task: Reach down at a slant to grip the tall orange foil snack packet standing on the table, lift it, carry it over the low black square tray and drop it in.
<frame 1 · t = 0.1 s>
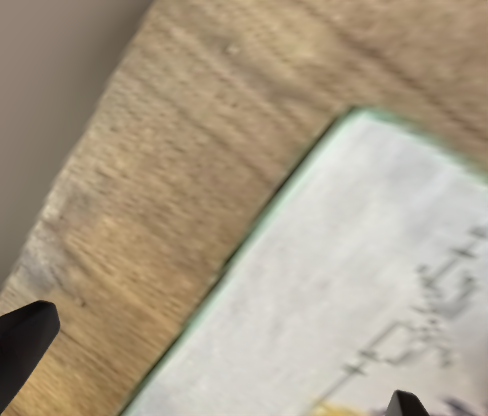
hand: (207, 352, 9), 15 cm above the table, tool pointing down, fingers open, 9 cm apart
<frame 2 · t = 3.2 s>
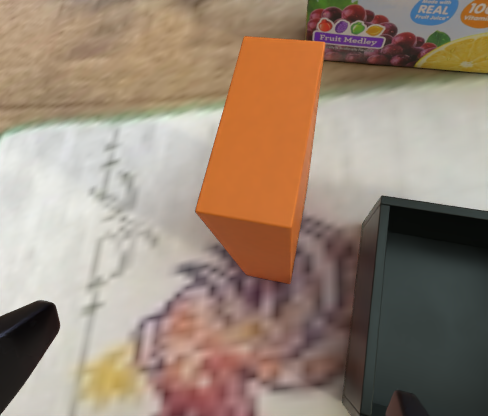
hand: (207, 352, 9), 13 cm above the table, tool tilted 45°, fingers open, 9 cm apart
black square tray: (448, 325, 20), on the table
snack box: (441, 49, 27), on the table
packet: (277, 229, 23), on the table
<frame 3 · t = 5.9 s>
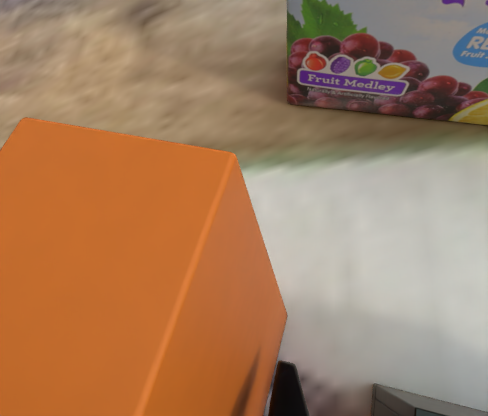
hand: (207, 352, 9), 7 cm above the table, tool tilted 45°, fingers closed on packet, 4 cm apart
snack box: (486, 94, 18), on the table
packet: (233, 386, 14), on the table, touching gripper
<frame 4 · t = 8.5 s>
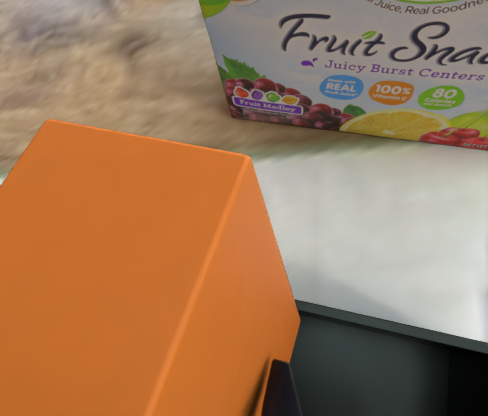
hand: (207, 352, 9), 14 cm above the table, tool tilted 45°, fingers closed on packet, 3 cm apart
snack box: (369, 111, 26), on the table
packet: (245, 389, 14), point 7 cm above the table, tilted 7°, touching gripper
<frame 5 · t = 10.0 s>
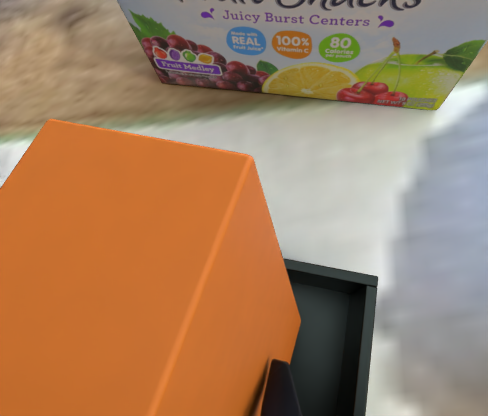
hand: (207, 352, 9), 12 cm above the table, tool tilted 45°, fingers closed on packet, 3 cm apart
black square tray: (250, 362, 20), on the table
snack box: (294, 74, 26), on the table
packet: (245, 390, 14), point 5 cm above the table, tilted 7°, touching gripper
when the fingers open (10 cm above the table, at t = 11.1 s): packet drops 2 cm, resting on black square tray.
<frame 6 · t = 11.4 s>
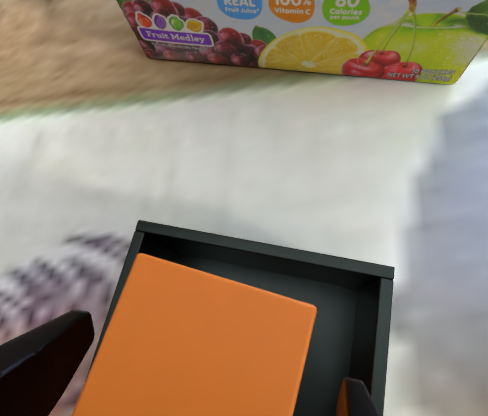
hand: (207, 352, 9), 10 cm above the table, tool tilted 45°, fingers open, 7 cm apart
black square tray: (244, 368, 17), on the table
snack box: (293, 47, 24), on the table
packet: (249, 384, 16), point 1 cm above the table, touching black square tray
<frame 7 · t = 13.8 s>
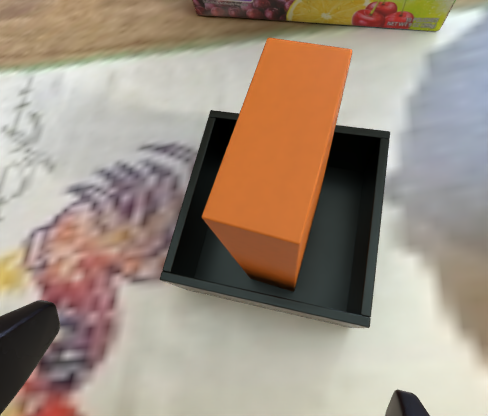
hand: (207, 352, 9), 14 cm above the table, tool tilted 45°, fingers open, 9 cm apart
black square tray: (280, 228, 23), on the table
snack box: (313, 6, 30), on the table
packet: (285, 234, 23), resting on black square tray
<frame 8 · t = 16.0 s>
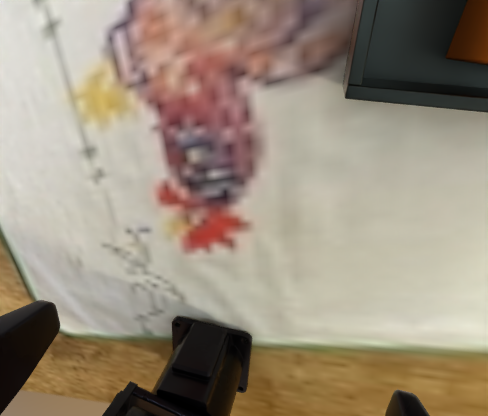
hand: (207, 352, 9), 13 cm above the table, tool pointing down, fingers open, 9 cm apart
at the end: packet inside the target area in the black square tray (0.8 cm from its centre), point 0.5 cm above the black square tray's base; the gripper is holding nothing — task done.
